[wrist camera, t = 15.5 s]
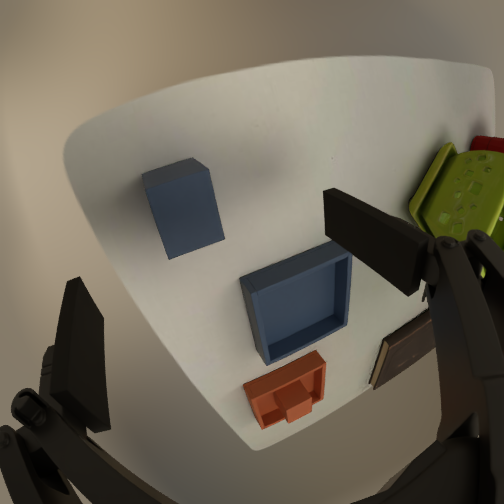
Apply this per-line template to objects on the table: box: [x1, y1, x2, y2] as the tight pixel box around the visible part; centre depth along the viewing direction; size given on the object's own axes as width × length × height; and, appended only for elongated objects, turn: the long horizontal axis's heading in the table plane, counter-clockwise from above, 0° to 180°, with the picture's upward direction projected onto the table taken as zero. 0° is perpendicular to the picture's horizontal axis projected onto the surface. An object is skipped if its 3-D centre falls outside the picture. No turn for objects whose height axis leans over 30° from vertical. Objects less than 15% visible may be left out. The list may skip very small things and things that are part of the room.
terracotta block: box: [273, 380, 312, 423], centre depth 38 cm, size 4×5×4 cm
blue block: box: [141, 158, 225, 260], centre depth 20 cm, size 4×5×4 cm
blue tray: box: [240, 240, 352, 366], centre depth 31 cm, size 11×11×3 cm
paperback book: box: [368, 310, 436, 390], centre depth 53 cm, size 16×23×2 cm
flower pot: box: [409, 142, 504, 278], centre depth 30 cm, size 14×14×13 cm
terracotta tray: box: [243, 350, 326, 430], centre depth 39 cm, size 11×11×3 cm
